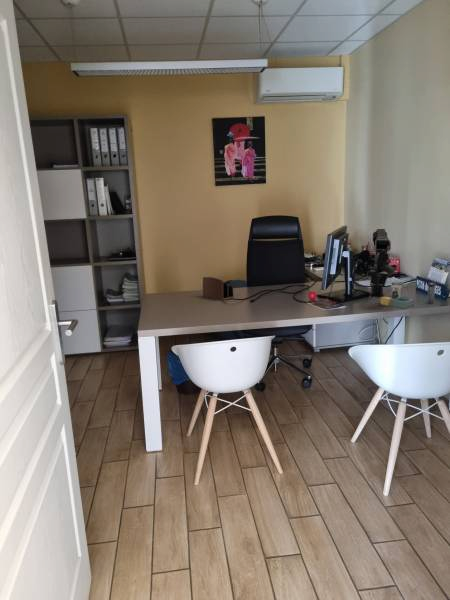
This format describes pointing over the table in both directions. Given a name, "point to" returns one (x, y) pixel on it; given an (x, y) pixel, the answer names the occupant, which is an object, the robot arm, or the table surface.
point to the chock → (386, 301)
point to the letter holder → (216, 289)
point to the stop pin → (431, 293)
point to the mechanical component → (401, 285)
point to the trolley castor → (394, 293)
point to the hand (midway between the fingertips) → (380, 286)
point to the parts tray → (402, 302)
